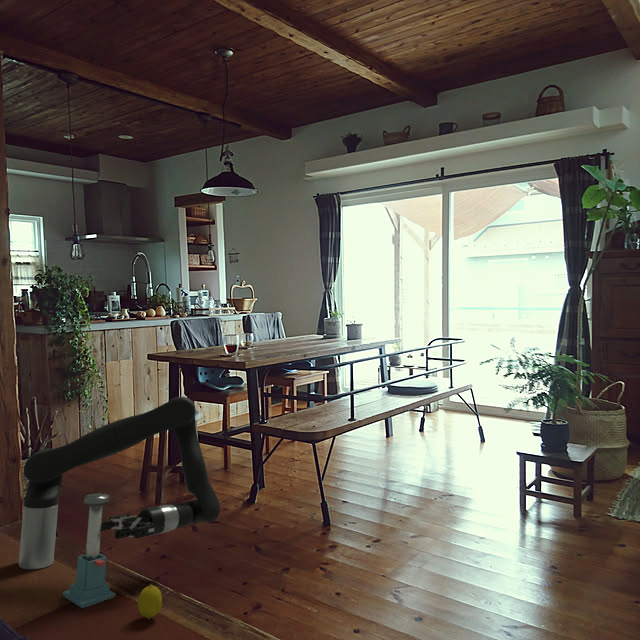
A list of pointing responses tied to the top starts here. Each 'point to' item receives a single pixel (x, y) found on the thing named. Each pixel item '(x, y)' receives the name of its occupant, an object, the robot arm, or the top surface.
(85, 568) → the stand base
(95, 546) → the column
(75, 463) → the robot arm
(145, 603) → the lemon
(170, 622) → the top surface
